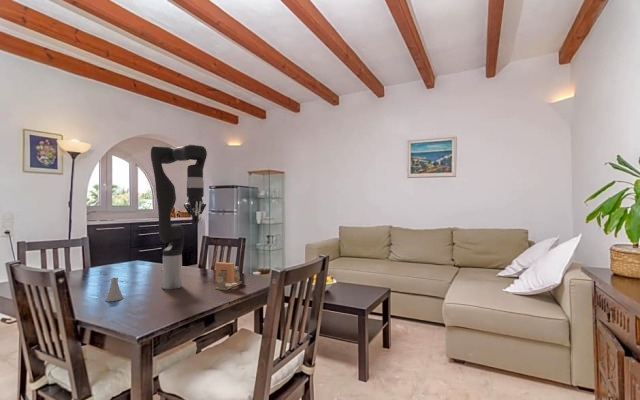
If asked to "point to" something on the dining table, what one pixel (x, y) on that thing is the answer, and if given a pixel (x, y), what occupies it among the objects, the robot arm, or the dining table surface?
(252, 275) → the dining table surface
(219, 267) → the orange square plate
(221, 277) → the pipe stand
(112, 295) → the flask
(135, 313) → the dining table surface
